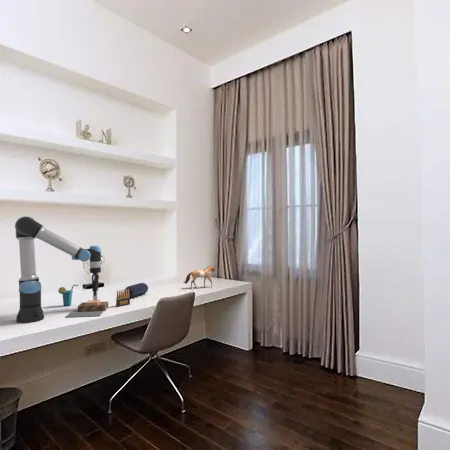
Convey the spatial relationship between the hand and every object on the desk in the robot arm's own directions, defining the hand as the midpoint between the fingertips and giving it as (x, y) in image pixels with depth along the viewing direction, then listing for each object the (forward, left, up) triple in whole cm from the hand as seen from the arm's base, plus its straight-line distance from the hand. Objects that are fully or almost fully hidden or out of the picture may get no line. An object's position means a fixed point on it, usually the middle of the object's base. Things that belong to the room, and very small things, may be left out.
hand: (95, 299), depth 245 cm
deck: (0, -7, -5) cm, 9 cm away
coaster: (0, -8, -1) cm, 8 cm away
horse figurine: (+81, +68, -6) cm, 106 cm away
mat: (-2, -21, -5) cm, 22 cm away
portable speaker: (+25, +36, -6) cm, 45 cm away
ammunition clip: (+19, +2, -6) cm, 20 cm away
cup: (-21, +10, -6) cm, 24 cm away
